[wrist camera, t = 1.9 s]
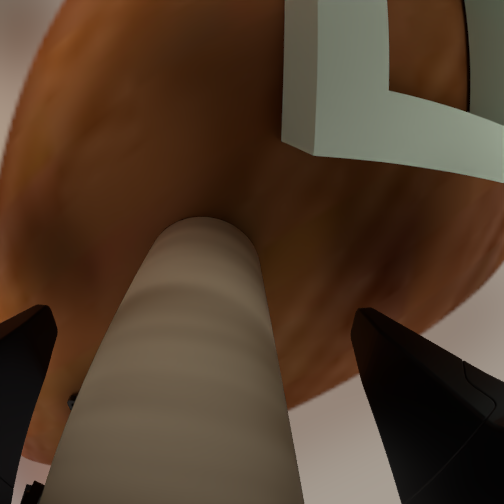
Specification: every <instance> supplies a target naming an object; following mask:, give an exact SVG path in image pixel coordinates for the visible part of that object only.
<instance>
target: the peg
mask: <svg viewBox="0 0 504 504" xmlns="http://www.w3.org/2000/svg"><path fill="white" fill-rule="evenodd" d="M39 504H304V499H303V493H302V488H301V482H300V477H299V471H298V466H297V460H296V455H295V449H294V444H293V439H292V433H291V427H290V422H289V416H288V411H287V406H286V400H285V395H284V389H283V384H282V379H281V373H280V368H279V362H278V357H277V352H276V346H275V341H274V336H273V331H272V325H271V320H270V315H269V309H268V304H267V299H266V294H265V288H264V283H263V278H262V273H261V267H260V262H259V257H258V254H257V251H256V249H255V247H254V245H253V244H252V242H251V241H250V240H249V238H248V237H247V236H246V235H245V234H244V233H243V232H242V231H240V230H239V229H238V228H236V227H235V226H233V225H232V224H230V223H227V222H225V221H223V220H219V219H216V218H211V217H192V218H188V219H184V220H181V221H178V222H176V223H174V224H172V225H171V226H169V227H168V228H166V229H165V230H164V231H163V232H162V233H161V234H160V235H159V236H158V237H157V239H156V240H155V242H154V244H153V245H152V247H151V249H150V251H149V252H148V254H147V256H146V258H145V259H144V261H143V263H142V265H141V267H140V268H139V270H138V272H137V274H136V276H135V278H134V279H133V281H132V283H131V285H130V287H129V289H128V291H127V293H126V294H125V296H124V298H123V300H122V302H121V304H120V306H119V308H118V310H117V312H116V314H115V316H114V318H113V320H112V322H111V324H110V326H109V328H108V330H107V332H106V334H105V336H104V338H103V340H102V342H101V344H100V347H99V349H98V351H97V353H96V355H95V357H94V359H93V362H92V364H91V366H90V368H89V371H88V373H87V375H86V377H85V380H84V382H83V384H82V387H81V389H80V391H79V394H78V396H77V398H76V401H75V403H74V406H73V408H72V411H71V413H70V416H69V418H68V421H67V423H66V426H65V428H64V431H63V434H62V436H61V439H60V442H59V445H58V447H57V450H56V453H55V456H54V459H53V462H52V465H51V468H50V471H49V474H48V477H47V480H46V483H45V486H44V490H43V493H42V496H41V500H40V503H39Z"/></svg>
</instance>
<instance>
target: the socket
mask: <svg viewBox="0 0 504 504" xmlns="http://www.w3.org/2000/svg"><path fill="white" fill-rule="evenodd" d="M464 2H465V9H466V16H467V25H468V36H469V51H470V113H468V112H465V111H462V110H459V109H456V108H453V107H449V106H446V105H443V104H440V103H436V102H433V101H429V100H425V99H422V98H418V97H414V96H410V95H406V94H402V93H397V92H393V91H389V28H388V9H387V0H285V23H284V71H283V104H282V132H281V141H282V142H284V143H287V144H289V145H291V146H293V147H296V148H298V149H300V150H302V151H304V152H306V153H309V154H311V155H313V156H323V157H337V158H348V159H359V160H368V161H378V162H386V163H394V164H402V165H409V166H416V167H423V168H429V169H435V170H441V171H447V172H453V173H458V174H463V175H469V176H474V177H479V178H483V179H488V180H493V181H497V182H501V183H504V0H464Z"/></svg>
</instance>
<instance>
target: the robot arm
mask: <svg viewBox="0 0 504 504" xmlns="http://www.w3.org/2000/svg"><path fill="white" fill-rule="evenodd" d="M57 333H58V331H57V326H56V323H55V320H54V317H53V314H52V311H51V309H50V307H49V306H47V305H39V304H38V305H35V306H33V307H31V308H29V309H27V310H25V311H23V312H21V313H19V314H17V315H16V316H14V317H12V318H10V319H8V320H6V321H4V322H2V323H0V504H11V501H12V495H13V488H14V484H15V479H16V474H17V470H18V465H19V461H20V457H21V453H22V449H23V445H24V442H25V438H26V434H27V431H28V427H29V424H30V421H31V417H32V414H33V411H34V408H35V405H36V402H37V399H38V396H39V393H40V390H41V387H42V385H43V382H44V379H45V376H46V373H47V369H48V366H49V362H50V358H51V355H52V351H53V348H54V344H55V341H56V338H57ZM351 341H352V345H353V349H354V353H355V357H356V361H357V365H358V369H359V373H360V377H361V381H362V384H363V387H364V390H365V393H366V395H367V399H368V401H369V404H370V407H371V410H372V413H373V415H374V418H375V421H376V424H377V427H378V430H379V433H380V436H381V439H382V442H383V445H384V448H385V451H386V454H387V457H388V461H389V464H390V467H391V470H392V473H393V477H394V480H395V483H396V486H397V490H398V493H399V496H400V500H401V503H402V504H504V382H503V381H501V380H499V379H497V378H495V377H493V376H491V375H489V374H487V373H485V372H483V371H481V370H480V369H478V368H476V367H474V366H472V365H471V364H469V363H467V362H466V361H462V359H460V358H459V357H457V356H455V355H453V354H452V353H450V352H448V351H446V350H445V349H443V348H441V347H439V346H438V345H436V344H434V343H432V342H431V341H429V340H427V339H426V338H424V337H422V336H420V335H419V334H417V333H415V332H413V331H412V330H410V329H408V328H406V327H405V326H403V325H401V324H399V323H398V322H396V321H394V320H392V319H391V318H389V317H387V316H385V315H384V314H382V313H380V312H378V311H377V310H375V309H373V308H370V307H368V308H359V309H357V311H356V313H355V317H354V322H353V326H352V330H351ZM76 398H77V396H74V395H72V396H70V397H69V400H68V402H67V404H68V406H69V408H70V409H71V411H72V408H73V406H74V403H75V401H76ZM44 486H45V485H43V484H41V483H39V482H37V481H34V482H33V485H28V484H27V485H26V488H25V491H24V494H23V497H22V500H21V504H39V503H40V500H41V496H42V493H43V490H44Z"/></svg>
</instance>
